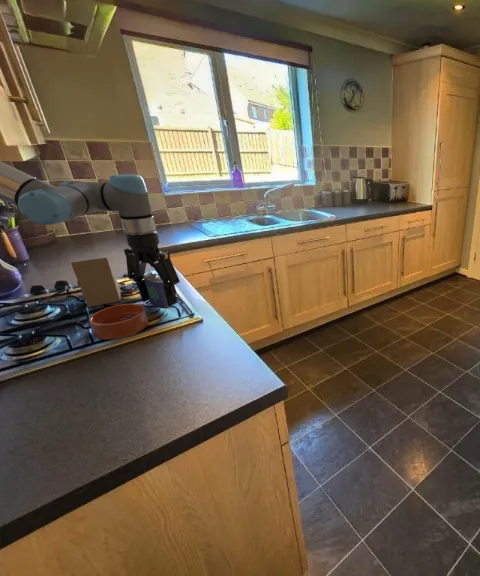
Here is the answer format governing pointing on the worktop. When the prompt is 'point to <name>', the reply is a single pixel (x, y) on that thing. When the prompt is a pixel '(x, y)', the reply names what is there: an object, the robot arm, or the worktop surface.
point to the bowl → (118, 321)
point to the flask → (156, 291)
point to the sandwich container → (97, 281)
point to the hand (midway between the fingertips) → (159, 302)
